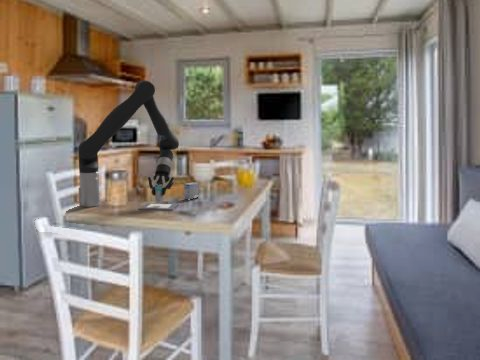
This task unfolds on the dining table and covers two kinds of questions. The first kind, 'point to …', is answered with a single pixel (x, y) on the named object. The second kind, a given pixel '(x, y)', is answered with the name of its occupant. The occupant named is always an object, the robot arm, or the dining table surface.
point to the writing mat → (158, 206)
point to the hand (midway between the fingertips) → (158, 194)
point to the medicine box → (191, 190)
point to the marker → (158, 194)
